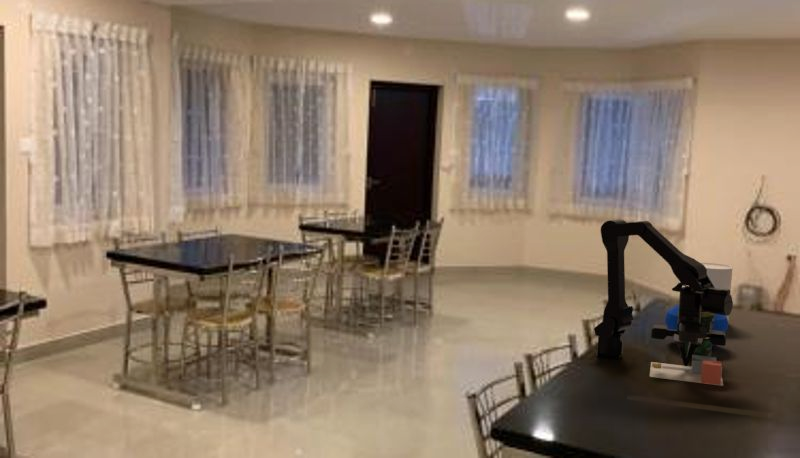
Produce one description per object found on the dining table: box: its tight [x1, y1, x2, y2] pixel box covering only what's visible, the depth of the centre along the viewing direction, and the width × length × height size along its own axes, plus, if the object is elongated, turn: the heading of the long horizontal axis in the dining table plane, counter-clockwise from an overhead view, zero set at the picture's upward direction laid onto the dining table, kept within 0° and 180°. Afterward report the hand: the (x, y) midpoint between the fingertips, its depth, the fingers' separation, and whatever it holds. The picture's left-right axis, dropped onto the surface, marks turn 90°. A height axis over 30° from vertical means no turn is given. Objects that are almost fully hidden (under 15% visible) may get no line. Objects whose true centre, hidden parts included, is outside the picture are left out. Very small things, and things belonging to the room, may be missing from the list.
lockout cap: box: [700, 359, 723, 386], centre depth 204 cm, size 4×4×5 cm
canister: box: [700, 262, 733, 320], centre depth 278 cm, size 14×14×20 cm
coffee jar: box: [679, 307, 715, 361], centre depth 227 cm, size 10×8×19 cm
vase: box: [664, 284, 729, 348], centre depth 244 cm, size 18×18×19 cm
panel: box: [649, 361, 724, 387], centre depth 211 cm, size 18×15×3 cm
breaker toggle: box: [691, 355, 718, 374], centre depth 212 cm, size 6×6×4 cm
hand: (685, 365), depth 214 cm, fingers closed
